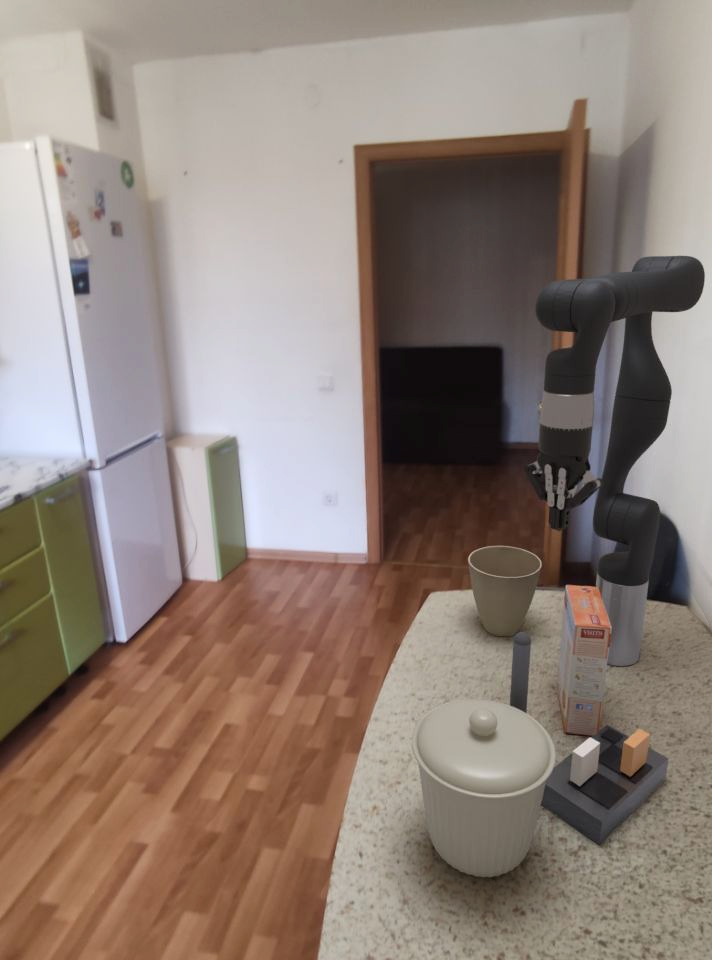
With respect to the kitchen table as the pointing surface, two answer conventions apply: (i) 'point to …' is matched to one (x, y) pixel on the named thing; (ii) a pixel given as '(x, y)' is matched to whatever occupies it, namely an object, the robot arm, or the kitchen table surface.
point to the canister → (482, 782)
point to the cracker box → (583, 659)
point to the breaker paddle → (634, 752)
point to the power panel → (603, 788)
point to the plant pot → (503, 586)
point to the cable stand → (520, 671)
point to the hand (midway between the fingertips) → (558, 528)
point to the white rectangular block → (584, 761)
